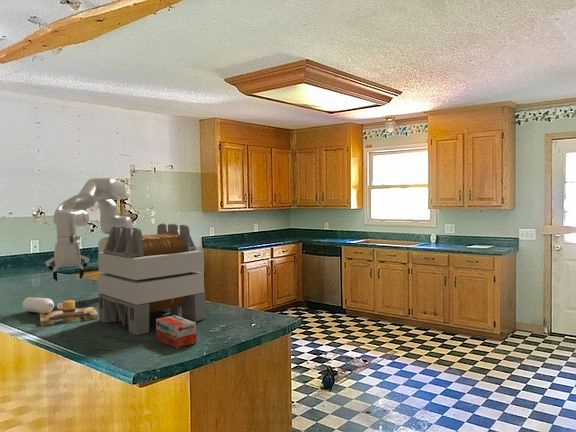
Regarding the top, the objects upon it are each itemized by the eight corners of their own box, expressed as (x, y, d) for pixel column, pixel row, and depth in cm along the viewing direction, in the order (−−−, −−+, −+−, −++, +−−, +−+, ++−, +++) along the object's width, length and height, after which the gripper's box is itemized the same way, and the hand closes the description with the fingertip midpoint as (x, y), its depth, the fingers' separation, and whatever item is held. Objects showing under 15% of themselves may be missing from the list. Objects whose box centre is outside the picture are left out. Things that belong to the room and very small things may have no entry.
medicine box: (197, 344, 170) (196, 321, 170) (177, 349, 164) (176, 326, 164) (175, 335, 181) (174, 314, 180) (155, 340, 175) (154, 318, 175)
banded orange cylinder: (75, 317, 208) (74, 299, 208) (76, 320, 204) (75, 301, 204) (62, 319, 206) (62, 301, 206) (63, 322, 202) (62, 303, 201)
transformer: (207, 319, 203) (205, 224, 201) (136, 336, 180) (133, 228, 178) (165, 306, 227) (163, 221, 225) (97, 320, 204) (94, 225, 202)
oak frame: (93, 311, 220) (93, 304, 220) (98, 318, 206) (98, 311, 206) (39, 317, 210) (39, 310, 210) (40, 326, 196) (40, 318, 195)
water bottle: (21, 311, 219) (41, 314, 202) (23, 297, 220) (43, 298, 203) (41, 311, 225) (62, 313, 208) (42, 297, 226) (64, 298, 209)
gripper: (87, 237, 211) (89, 275, 212) (43, 240, 203) (45, 280, 204) (89, 239, 204) (91, 278, 206) (44, 242, 196) (46, 283, 197)
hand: (68, 279), depth 205 cm, fingers open, 9 cm apart
